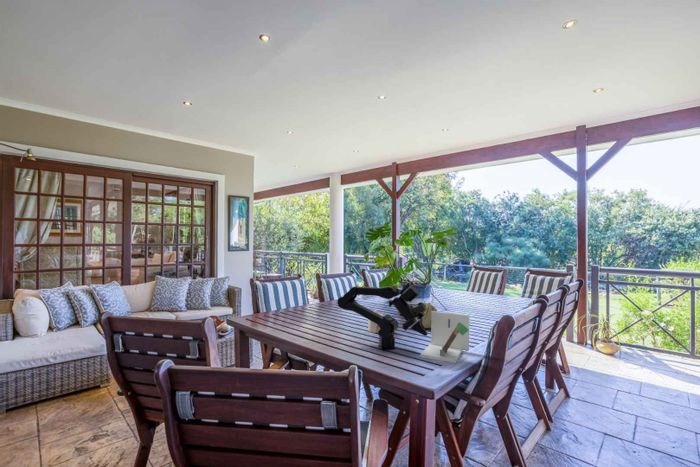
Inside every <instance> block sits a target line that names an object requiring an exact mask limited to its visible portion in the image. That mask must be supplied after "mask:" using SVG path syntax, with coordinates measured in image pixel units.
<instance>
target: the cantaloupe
mask: <svg viewBox="0 0 700 467" xmlns="http://www.w3.org/2000/svg"><path fill="white" fill-rule="evenodd" d="M422 303H423V304H425V305H426V309H427V310H425V311H424V314H425V315H424V316H423V317H422V318H423V321H422V323H423V326H424V328H425V329H431V311H436V312H438V310H437V308H436V307H435V306H433V305H432V304H431V302H430V301H429V302H428V303H426V302H422ZM416 306H418V304H417V305H416ZM422 318H421V319H422Z"/></svg>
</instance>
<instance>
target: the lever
mask: <svg viewBox="0 0 700 467" xmlns="http://www.w3.org/2000/svg"><path fill="white" fill-rule="evenodd" d="M459 331H460V330H459V329H458V328H455V329H454V331H453V332H452V334H451V336H450V337H449V339H448V341H447V342H446V344H445V345H444V347H443V349H442V350H445V353H446V352H447V350H448V349H449V347H450V345H451V344H452V342H453V341H454V339H455V337H456V336H457V334H458V333H459Z"/></svg>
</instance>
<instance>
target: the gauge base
mask: <svg viewBox="0 0 700 467" xmlns="http://www.w3.org/2000/svg"><path fill="white" fill-rule="evenodd" d="M455 328H458V329H459V330H460V331H459V333H458V334H457V336H456V337H455V339H454V341H453V342H452V344H451V345H450V347H449V349H448V350H447V352H446V353H445V350H442V349H443V347H444V345H445V344H446V342H447V341H448V339H449V337H450V336H451V334H452V332H453V331H454V329H455ZM430 330H431V331H430V343H429V345H428V346H427V347H426V348H425V349H424V350H423V351H422V352H421V353H420V358H422V359H423V358H424V359H429V360H436V361H441V362H447V363H452V364H456V363H457V361H458V360H459V359H460V356H461V354H462V353H463V350H466V351H470V314H462V313H452V312H444V311H443V312H442V311H437V312H436V311H431V328H430Z"/></svg>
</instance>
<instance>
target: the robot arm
mask: <svg viewBox="0 0 700 467" xmlns="http://www.w3.org/2000/svg"><path fill="white" fill-rule="evenodd" d="M359 295H360V296H372V297H373V296H375V297H379V298H382V299H385V300H389V301H388V307H392V306H393V307H394V308H395V309H396V310H397V311H398V313H399V316H400V317H403V318H404V320H405V322H403V323H402V328H403V330H404V331H407V330H408V329H410V330H411V331H414V332H416V333H419V334H421V335H422V336H424V337H426V336H428V332H427V331H426V328H424V326H423V323H422V321H423V318H422V317H423V316H424V315H425V314H424V311H425V310H427V309H426V305H425V304H423V303H424V302H422V301H421V302H418V303H417V305H418V306H417V305H416V306H414V305H411V304H409V303H411V302H413V300H415V299H416V298H417V297H418V296H419V295H420V292H419V290H418V288H417V287H415V286H414V285H412V284H411V283H407V284H406V286H405V287H403V288H402V289H401V288H397V287H396V286H395V285H385V286H380V287H375V286H371V287H370V286H358V285H355V286H352V287H350V289H349V290H348V291H347V292H346V293H345V294H343V295H342V296H340V297H338V299H337V307H338V308H340V309H343V310H345V311H350V312H351V311H352V312H353V313H355V314H358V315H359V316H361V317H363V318H365V319H367V320H368V319H369V320H370V321H372V322H374V323H376V324H377V325H378V326H379V327H380V328H381V329H380V330H379V331H378V333H377V335H378V336H379V344H378V345H377V346H378V347H379V348H380V349H381V350H382V351H384V350H395V349H396V347H395V345H396V341H395V340H396V338H395V335H394V334H395V332H396V331H397V330H398V329H399V322H398V320H397V319H396V317H394V316H393V317H392V316H391V315H390V314H388V313H387V314H386V315H384V316H381V315H379V314H377V313H375V312H374V311H373V310H371V309H369V308H367V307H366V306H364V305H361V303H360V304H359V302H358V301H357V300H356V298H357V297H358V296H359ZM390 299H391V300H390ZM408 302H409V303H408ZM421 318H422V319H421Z"/></svg>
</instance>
